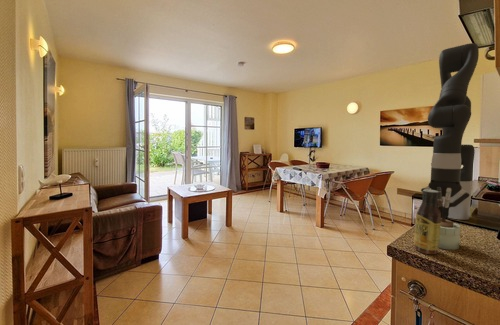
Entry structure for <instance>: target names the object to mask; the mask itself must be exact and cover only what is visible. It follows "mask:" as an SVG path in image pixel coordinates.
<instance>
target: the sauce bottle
mask: <svg viewBox="0 0 500 325" xmlns="http://www.w3.org/2000/svg"><path fill="white" fill-rule="evenodd" d="M421 193H422V199H421V200H422V201H421V204H420V206H419V208H418V209H417V211H416V214H415V227H414V235H413V236H414V237H413V238H414V239H413V243H414V245H413V246H414V249H415V250H416V251H418V252H420V253H422V254H425V255H436V254H438V252H439V251H438V250H439V248H438V246H439V236H440V225H441V222H440V220H441V212H440V210H439V209H438V206H437V200H438V196H439V191H436V190H431V189H424V190H423V191H421Z"/></svg>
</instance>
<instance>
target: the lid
mask: <svg viewBox="0 0 500 325" xmlns="http://www.w3.org/2000/svg"><path fill="white" fill-rule="evenodd" d="M440 222H441V225H440V226H441V227H450V228H452V227H453V223H454V221H452V220H449V219H446V218H441V220H440Z"/></svg>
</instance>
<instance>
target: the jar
mask: <svg viewBox="0 0 500 325" xmlns="http://www.w3.org/2000/svg"><path fill="white" fill-rule="evenodd" d="M460 236H461V225H460V224H457V223H455V222H453V227H452V228H450V227H441V226H440V236H439V246H438V249H443V250H449V251H454V250H455V251H456V250H458V249H459V248H460V239H461V238H460Z"/></svg>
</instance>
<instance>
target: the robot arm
mask: <svg viewBox="0 0 500 325" xmlns="http://www.w3.org/2000/svg"><path fill="white" fill-rule="evenodd" d="M479 53H480V52H479V46H478V44H477V43H474V42H473V43H472V42H471V43H465V44H462V45H456V46H453V47H448V48H445V49H443V50H441V52H440V53H439V57H438V58H439V59H438V66H439V77H440V85H441V87H440V88H441V90H440V93H439V98H438V99H437V101H436V103H434V105H433V106H432V108H431V109H430V111H429V112H428V115H427V123H428V125H429V126H430V127H432V128H434V129H442V134H439V135H437V136H435V137H434V138H433V147H432V157H431V163H430V165H431V166H430V182H429V183H428V186H425V187H422V188H421V189H420V192H422V191H423V190H424V189H430V190H436V191H439V196H438V200H437V207H438V209H439V210H440V212H441V218H445V219H446V218H449V219H454V220H459V221H460V220H462V221H464V220H467V221H468V220H470V214H471V200H472V199H471V197H472V185H473V166H474V160H475V147H474V145H473V144H462V142H463V137H464V133H465V131H466V128H467V126H468V124H469V122H470V120H471V116H472V100H471V99H470V97H469V96H468V95H467V94H468V89H469V85H470V82H471V79H472V78H473V76H474V74H475V73H474V72H475V70H476V67H477V65H478V61H479ZM452 73H455V74H453V75H452Z"/></svg>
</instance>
